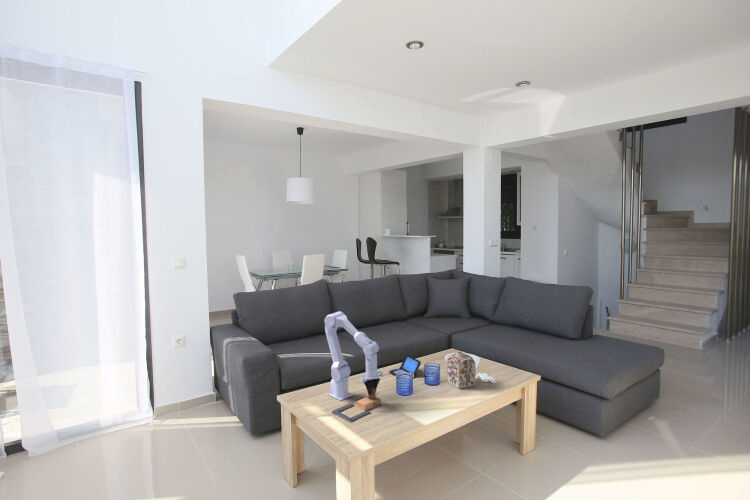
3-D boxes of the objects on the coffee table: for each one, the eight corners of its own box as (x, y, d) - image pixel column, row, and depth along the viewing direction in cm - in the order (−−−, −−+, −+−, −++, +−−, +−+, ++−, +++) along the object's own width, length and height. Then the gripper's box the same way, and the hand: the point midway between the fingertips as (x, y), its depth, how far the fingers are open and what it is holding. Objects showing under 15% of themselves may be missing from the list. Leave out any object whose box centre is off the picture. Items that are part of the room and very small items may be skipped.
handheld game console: (388, 372, 251) (388, 358, 251) (406, 368, 258) (406, 354, 257) (402, 381, 238) (402, 365, 237) (421, 376, 244) (421, 361, 244)
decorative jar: (446, 382, 235) (446, 351, 234) (462, 378, 240) (463, 348, 239) (458, 389, 224) (458, 357, 223) (476, 386, 229) (476, 354, 228)
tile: (356, 407, 205) (356, 401, 205) (365, 403, 209) (365, 397, 209) (364, 411, 201) (364, 405, 200) (373, 407, 205) (373, 401, 205)
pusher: (364, 402, 210) (363, 387, 209) (369, 399, 213) (368, 384, 212) (375, 407, 204) (374, 391, 203) (381, 403, 207) (379, 388, 206)
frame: (332, 412, 199) (332, 410, 198) (351, 404, 207) (351, 402, 207) (350, 421, 189) (350, 419, 189) (369, 412, 198) (369, 410, 198)
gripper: (366, 372, 199) (366, 400, 200) (387, 364, 209) (387, 391, 210) (356, 368, 204) (356, 395, 205) (377, 361, 214) (377, 387, 215)
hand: (371, 393), depth 208 cm, fingers closed on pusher, 2 cm apart
